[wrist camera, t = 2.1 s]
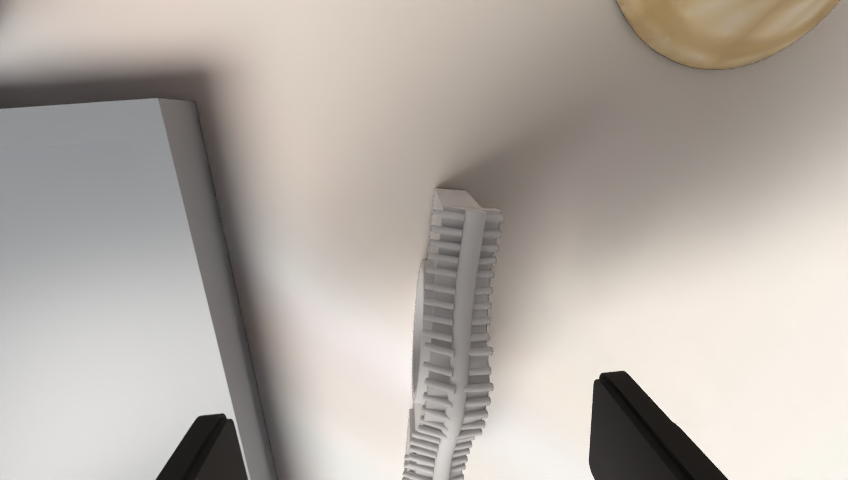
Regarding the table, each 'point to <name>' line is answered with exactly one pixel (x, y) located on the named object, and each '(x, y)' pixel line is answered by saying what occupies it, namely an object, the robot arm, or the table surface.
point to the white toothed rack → (451, 337)
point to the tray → (115, 295)
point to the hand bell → (722, 28)
